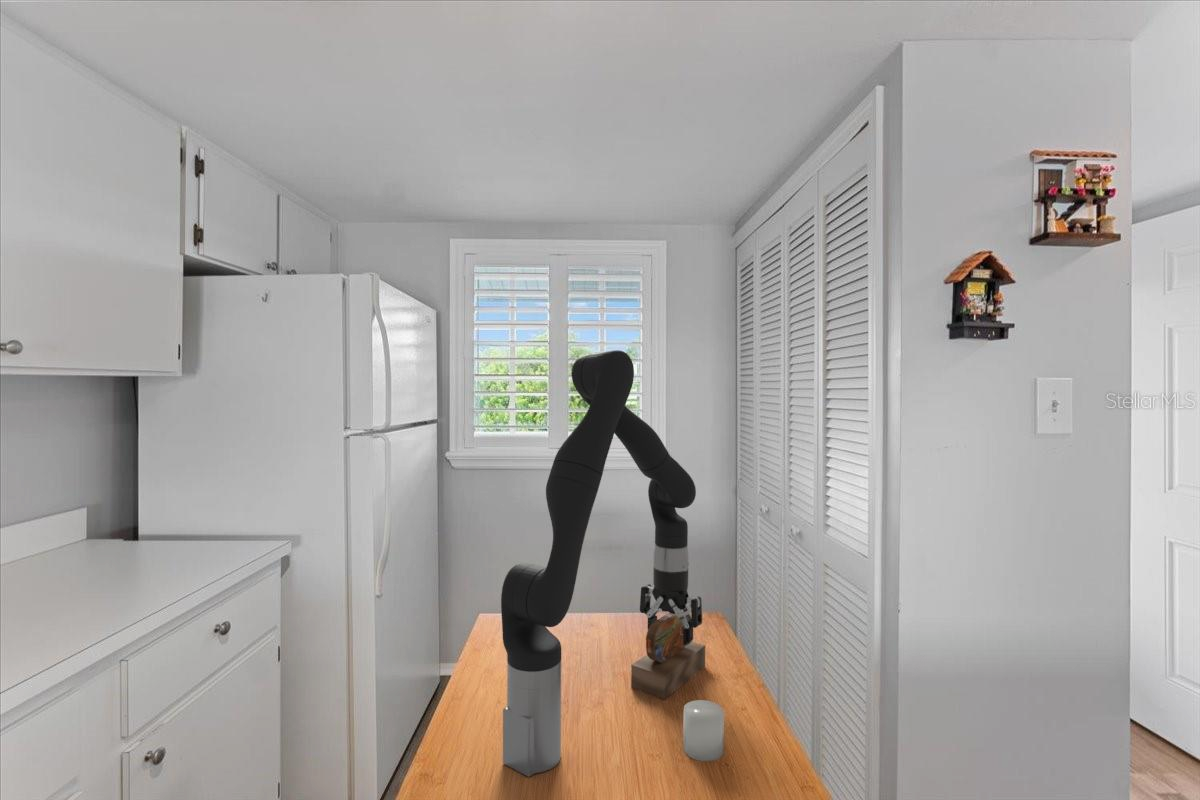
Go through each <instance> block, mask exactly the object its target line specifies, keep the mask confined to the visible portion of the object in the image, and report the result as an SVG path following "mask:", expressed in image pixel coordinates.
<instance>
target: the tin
mask: <svg viewBox="0 0 1200 800" xmlns="http://www.w3.org/2000/svg"><path fill="white" fill-rule="evenodd" d="M681 612H682V613H683V611H681ZM683 628H684V625H683V623H682V621H681V620H680V619H678V617H677V615H676V613H675V614H672V613H670V612H668V613H666V614H664V615H663V616H661V617H660V618H657V621H655V622H653V623H652V624H651V626H650V627H649V629H648V628H647V632H646V634H645V635H646V636H645V649H646V655H648V657H649V658H650V659H651V660H654V661H657V662H660V663H665V662H666V661H667V660H669V659H670V658H672V657H673V656H674V655H676V654H677V653H679V652H680V651H681V650H683V649H684V647H685V646H686V645H684V644H683Z"/></svg>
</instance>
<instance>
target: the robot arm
mask: <svg viewBox="0 0 1200 800" xmlns="http://www.w3.org/2000/svg"><path fill="white" fill-rule="evenodd" d="M634 376H635V367H634V363H633V360H632V359H631V357H630V355H629V354H628V353H627V352H625V351H623V350H618V349H616V350H615V349H611V350H604V351H598V352H593V353H588V354H583V355H581V356H579V357H578V358H577V359H576V360H575V361H574V363H573V365H572V369H571V380H572V384H573V386H574V388H575V390H576V392H577V393H578V395H579V396H580V397H581V398H582V399H583V400H584V401H585V403H586V404H587V405H588V408H587V411H586V413H585V415H584V417H582V420H581V421H580V422H579V423H578V425H577V426H576V427H575V428H574V429H573V431H572V432H570V434H569V435H568V436H567V437H566V439H565V440H564V441H563V443H561V444H562V445H561V446H560V447H559V449H558V450H557V452H556V454H555V457H554V459H553V462H552V466H551V469H550V473H549V475H548V478H547V482H546V486H545V499H546V504H547V508H548V513H549V518H550V522H551V527H552V545H551V550H550V554H549V559H548V561H547V565H546V566H541V565H537V564H534V563H533V564H532V563H527V562H520V563H518V564H515V565H514V566H512V567H511V568H510V569H509V571H508V572H507V573H506V575H505V578H504V581H503V583H502V587H501V596H500V611H501V626H502V627H501V630H502V642H503V643H502V644H503V647H504V649H505V651H506V657H507V659H506V662H507V663H506V664H507V666H506V667H507V668H506V671H507V672H506V674H507V675H506V677H507V678H506V679H507V680H506V683H507V684H506V688H507V689H506V691H507V693H506V695H507V696H506V699H507V700H506V707H504V708H503V709H502V764H503V765H505V766H507V767H509V768H511V769H513V770H515V771H517V772H518V773H520V774H522V775H525V776H526V777H531V776H533V775H534V774H539V773H544V772H547V771H549V770H551V769H553V768H554V767H555V766H557V764H559V762H560V760H561V757H562V756H561V755H562V644H561V641H560V640H559V638H558V637H557V636H556V635H554V633H552V632H551V631H550V630H549V629H548V628H554V627H556V626H558V625H559V624H561V622H562V621H563V620H564V619H565V617H566V615H567V613H568V612H569V608H570V606H571V602H572V599H573V596H574V595H573V594H574V591H575V586H576V582H577V576H578V571H579V567H580V566H579V565H580V559H581V556H582V555H581V553H582V550H583V545H584V541H585V536H586V532H587V529H588V525H589V521H590V518H591V515H592V510H593V508H594V504H595V501H596V497H597V496H598V492H599V487H600V484H601V481H602V477H603V473H604V469H605V465H606V462H607V458H608V454H609V451H610V449H611V445H612V441H613V439H614V436H616V437H617V438H618V439H619V441H620V442H621V444H622V445H623V446H624V447H625V449H626V450H627V451H628V453H629V455H630V457H631V458H632V460H633V462H634V463H635V465H636V466H637V467H638V469H639V471H640V472H641V473H642V474H643V475H644V477H647V478H649V479H650V481H649V484H648V491H647V492H648V493H647V494H648V496H647V497H648V500H649V505H650V510H651V514H652V519H653V521H654V526H655V527H654V550H653V573H652V574H653V576H652V577H653V580H652V581H653V582H652V583H653V586H652V585H651V584H649V583H648V584H646V585H644V586H641V588H640V602H639V611H640V613H641V614H645V615H646V617H647V630H648V629H649V627H650V626H651V624H652V623H653V622H655V621H657V620H658V615H657V614H658V613H659V611H662V612H668V613H672V614H675V613H676V615H677V617H678V619H680V620H681V621H682V623H683V625H684V628H683V644H684V645H688V644H690V643H691V642H693V641H694V629H696V628H697V627H698V626H700V625H702V624H703V607H702V598H701V596H699V595H697V596H696V597H693V596H689V593H688V588H689V565H690V562H689V549H688V547H689V546H688V537H689V535H688V533H689V530H688V529H689V526H688V521H687V520H686V519H685V518H684V517H682V516H681V515H679V514H678V512H677V510H676V509H686V508H689V507H691V505H692V504H693V503H694V502H695V499H696V496H697V495H696V494H697V491H696V484H695V482H694V479H693V478H692V477H691V475H690V474H689V473H688V472H687V471H686V469H684V467H682V466H681V464H680V463H679V462H678V461H677V460H675V458H674V457H672V456H671V455H670V452H669V451H668V448H666V446H665V444H664V443H663V441H662V439H661V438H660V436H659V435H658V433H657V432H656V431H655V430H654V429H653V427H652V426H651V425H650V424H648V423H647V422H646V421H644V420H643V419H642V418H641V417H639V416H638V415H637V414H635V413H634V411H632V410H631V409H630V408H628V407H627V406H626V404H627V401H628V399H629V396H630V394H631V391H632V388H633V385H634V378H635V377H634ZM652 596H653V597H654V603H653V604H652V606H651V598H652ZM687 604H689V605H687ZM690 610H691V611H690ZM682 612H683V613H682Z"/></svg>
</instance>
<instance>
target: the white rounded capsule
mask: <svg viewBox="0 0 1200 800" xmlns="http://www.w3.org/2000/svg"><path fill="white" fill-rule="evenodd" d="M724 717H725V712H724V709H723V707H722V706H721V705H719V704H717V703H715V702H714V701H713V702H712V701H709V700H703V699H697V700H692V701H689V702H687V703H685V704H684V706H683V719H682V720H683V721H682V722H683V725H682V726H683V728H682V729H683V731H682V732H683V733H682V739H683V741H682V750H683V752H684V754H686V755H687V757H689V758H691V759H694V760H695V761H700V762H714V761H717V760H718V759H720V758H721V757H722V756H723V753H724V732H725V730H724V726H725V725H724V723H725V718H724Z"/></svg>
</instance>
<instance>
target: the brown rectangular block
mask: <svg viewBox="0 0 1200 800" xmlns="http://www.w3.org/2000/svg"><path fill="white" fill-rule="evenodd" d="M704 667H705V668H706V645H705V644H701V643H697V642H695V641H692V642H691V643H690V644H688V645H686V646H685V647H684V649H683V650H681V651H680V652H679V653H677V654H676V655H674V656H673V657H672V658H670V659H669V660H667V661H666V662H665V663H660V662H657V661H654V660H651V659H650V658H649V657H648V655H647V654H645V655H644V656H643V657H641V658H640V659H638V660H636V661H635V662H633V663H632V664H631V674H630V677H631V678H630V680H631V681H630V683H631V685H630V688H631V689H632V688H633V689H632V690H635V691H637V692H640V691H641V693H644V694H646V695H649V696H651V697H654V698H657V699H660V700H662V701H665V700H666V699H667V698H669V697H670V696H671V695H672V694H673V692H674V693H675V692H676V691H677V690H679V689H680V688H681V687H683V686H684V684H686V683H688V682H689V681H690V680H691V679H693V678H694V677H695V676H696V675H697V674H698V673H700V672H701V671H702V670H703V669H705V668H704ZM702 668H703V669H702ZM701 669H702V670H701ZM700 670H701V671H700ZM699 671H700V672H699ZM695 674H696V675H695ZM694 675H695V676H694ZM668 696H669V697H668Z"/></svg>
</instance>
